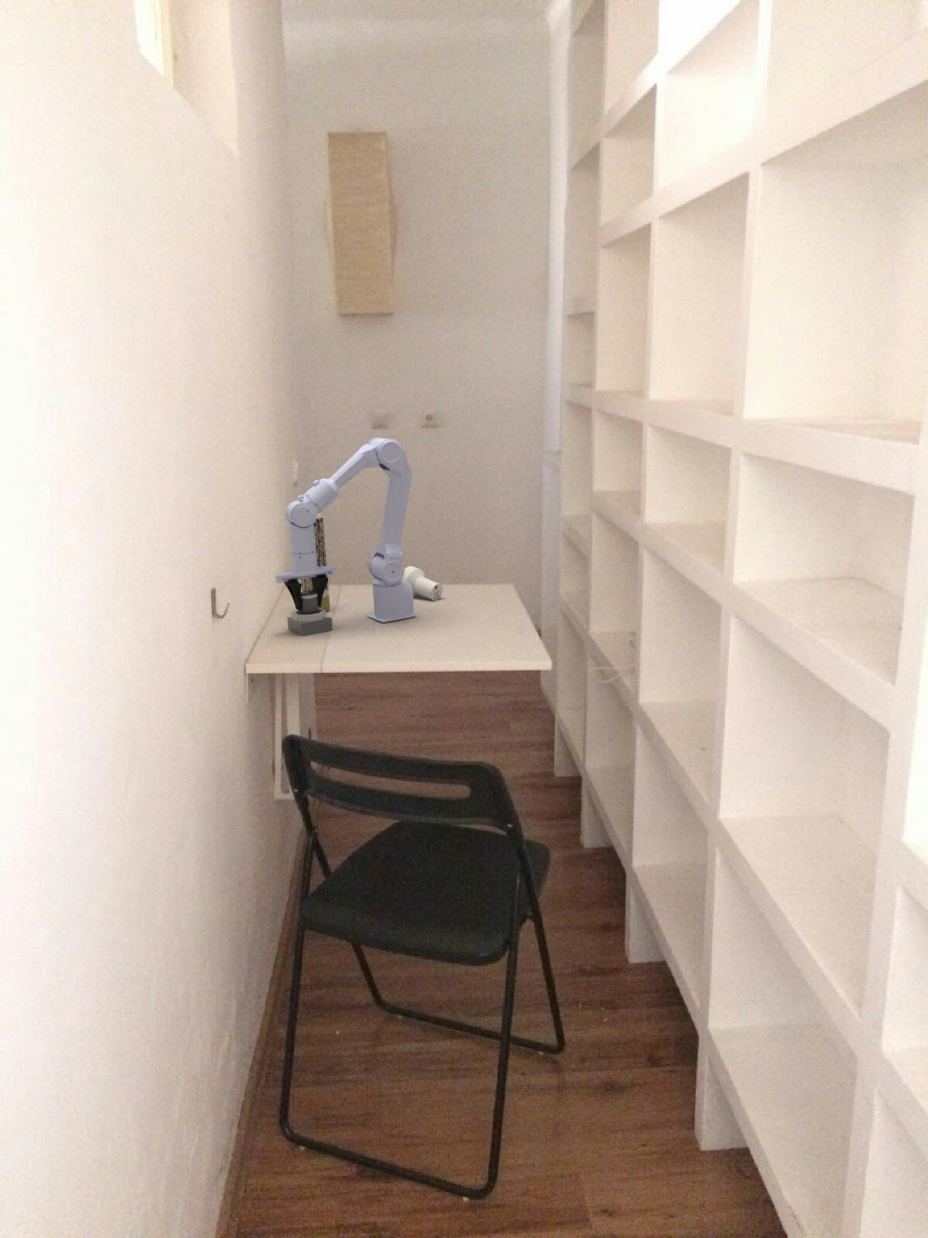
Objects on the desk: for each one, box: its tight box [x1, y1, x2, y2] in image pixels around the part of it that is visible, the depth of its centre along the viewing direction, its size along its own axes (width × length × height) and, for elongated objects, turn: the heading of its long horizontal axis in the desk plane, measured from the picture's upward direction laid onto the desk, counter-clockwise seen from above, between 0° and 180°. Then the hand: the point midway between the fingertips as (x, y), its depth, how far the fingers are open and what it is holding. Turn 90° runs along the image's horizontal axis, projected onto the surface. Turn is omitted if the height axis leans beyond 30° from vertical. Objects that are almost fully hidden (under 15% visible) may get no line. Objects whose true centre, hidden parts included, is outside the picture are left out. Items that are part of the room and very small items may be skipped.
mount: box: [286, 608, 334, 637], centre depth 233 cm, size 8×8×4 cm
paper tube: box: [300, 513, 331, 612], centre depth 248 cm, size 7×7×25 cm
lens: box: [300, 591, 319, 615], centre depth 232 cm, size 4×4×6 cm
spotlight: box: [402, 565, 444, 601], centre depth 260 cm, size 8×11×8 cm
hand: (308, 607), depth 232 cm, fingers closed on lens, 4 cm apart
